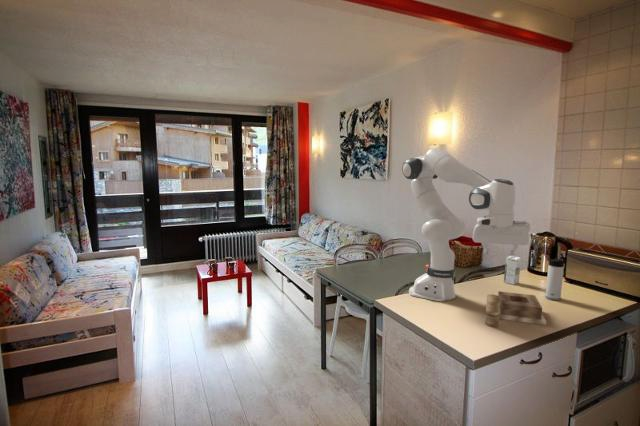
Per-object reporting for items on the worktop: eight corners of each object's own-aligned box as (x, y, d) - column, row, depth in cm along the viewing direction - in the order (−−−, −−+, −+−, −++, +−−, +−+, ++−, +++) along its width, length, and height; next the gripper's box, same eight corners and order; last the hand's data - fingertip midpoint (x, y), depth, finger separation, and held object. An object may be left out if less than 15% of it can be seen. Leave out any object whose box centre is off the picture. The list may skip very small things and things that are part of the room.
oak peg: (485, 326, 150) (487, 298, 148) (484, 320, 155) (486, 293, 153) (499, 328, 149) (501, 299, 147) (497, 322, 153) (500, 295, 152)
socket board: (497, 318, 157) (498, 304, 156) (493, 302, 174) (494, 289, 173) (545, 324, 151) (547, 310, 150) (536, 308, 168) (538, 294, 167)
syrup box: (508, 280, 206) (510, 255, 204) (519, 283, 201) (521, 257, 199) (503, 282, 202) (505, 257, 200) (514, 285, 198) (516, 259, 195)
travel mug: (554, 301, 176) (558, 261, 173) (542, 296, 182) (546, 257, 179) (564, 300, 177) (568, 260, 174) (552, 295, 184) (556, 256, 181)
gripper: (528, 220, 146) (526, 254, 148) (473, 218, 152) (471, 250, 154) (532, 222, 140) (529, 258, 142) (474, 220, 146) (472, 254, 148)
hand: (498, 254), depth 148 cm, fingers open, 8 cm apart
